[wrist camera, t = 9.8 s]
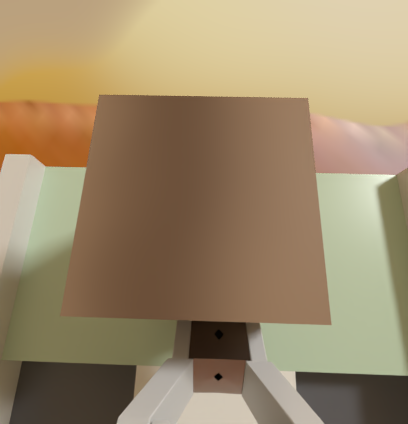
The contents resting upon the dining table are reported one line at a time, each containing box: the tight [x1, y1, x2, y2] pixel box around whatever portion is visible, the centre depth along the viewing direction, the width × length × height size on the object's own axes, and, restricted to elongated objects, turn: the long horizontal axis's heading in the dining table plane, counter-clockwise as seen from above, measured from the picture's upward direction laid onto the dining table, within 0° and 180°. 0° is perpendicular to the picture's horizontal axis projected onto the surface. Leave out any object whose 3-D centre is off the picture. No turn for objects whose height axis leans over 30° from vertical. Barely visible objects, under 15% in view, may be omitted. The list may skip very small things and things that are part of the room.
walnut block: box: [60, 95, 332, 325], centre depth 11 cm, size 6×6×9 cm
